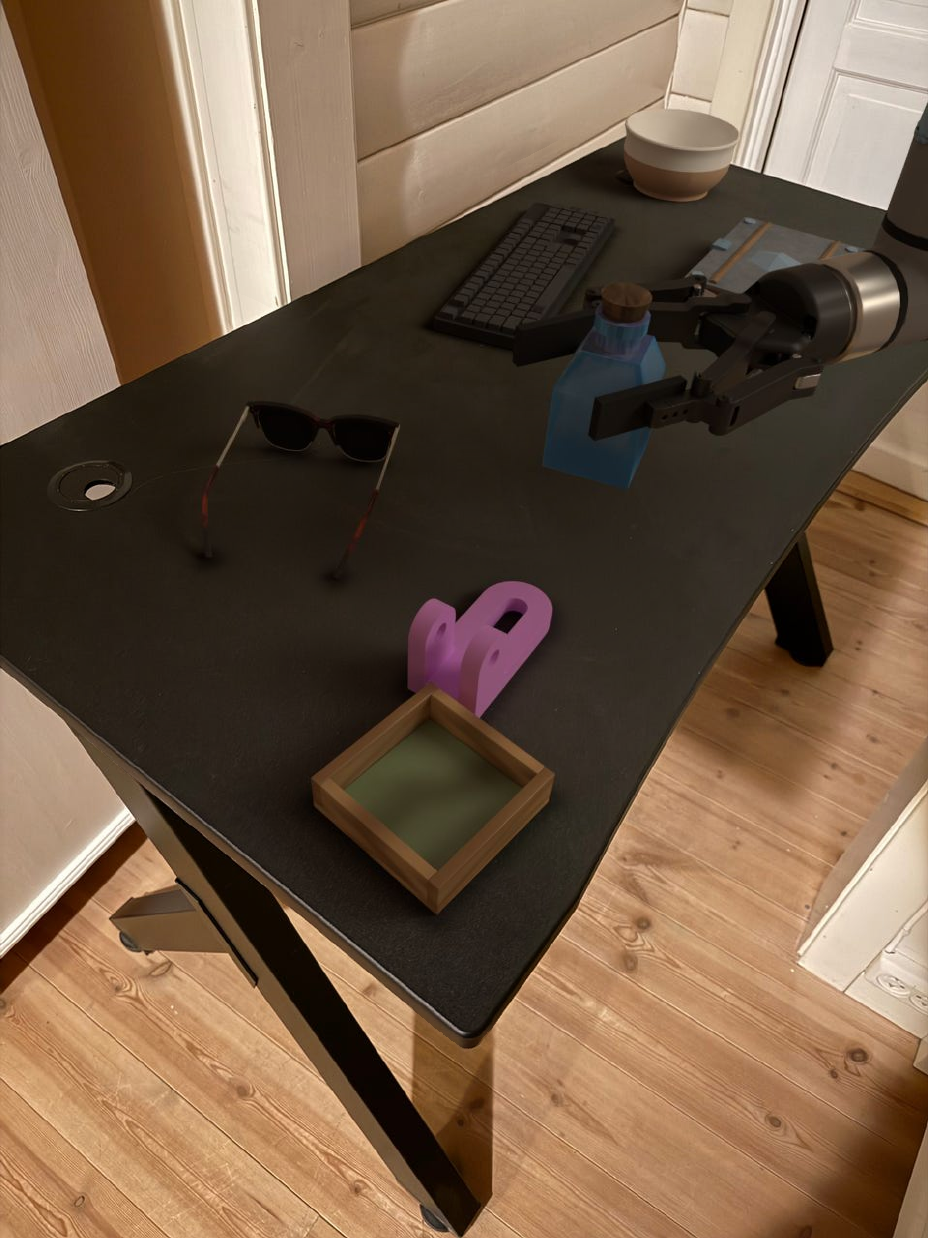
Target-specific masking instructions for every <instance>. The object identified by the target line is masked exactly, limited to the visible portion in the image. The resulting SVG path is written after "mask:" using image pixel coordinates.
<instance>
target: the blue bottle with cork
mask: <svg viewBox="0 0 928 1238" xmlns="http://www.w3.org/2000/svg"><path fill="white" fill-rule="evenodd" d="M635 284H636V283H629V282H614V283H609V284H607V285H604V286H605V287H604V288H603V289H602V303H601V304H600V305H599V306H597V309H596V314H595V320H594V326H593V328H592V329H591V330H590V332H589V333H588V334H587V336H586V337H585V338H584V340H583V341H582V342H581V344H580V345H579V347H578V348H577V350H576V352H575V353H574V354H572V357H571V359H570V360H569V362H568V363H567V365H566V366H565V368H564V370H563V371H562V373H561V375H560V376H559V378H558V379H557V381H556V384H555V385H554V386H553V388H552V394H551V395H552V396H551V401H550V408H549V414H548V422H547V428H546V429H547V430H546V437H545V444H544V450H543V458H542V465H541V467H544V468H547V469H552V470H555V471H558V472H562V473H566V474H570V475H574V476H577V477H579V478H580V477H581V478H584V479H589V480H592V481H595V482H598V483H603V484H606V485H609V486H610V485H611V486H614V487H617V488H621V489H623V490H624V489H625V490H629V488H630V485H631V484H632V481H633V478H634V476H635V473H636V471H637V469H638V468H639V465H640V462H641V460H642V457H643V455H644V453H645V451H646V448H647V445H648V443H649V440H650V436H651V433H652V429H650V428H649V427H644V428H640V429H637V430H633V431H630V432H626V433H623V434H619V435H616V436H612V437H609V438H605V439H602V440H598V441H594V440H592V439H591V438H590V437H589V436H588V432H589V426H590V421H591V415H592V410H593V404H594V399H595V397H599V396H602V395H606V394H610V393H614V392H618V391H621V390H625V389H629V388H633V387H637V386H640V385H644V384H648V383H652V382H656V381H659V380H663V379H665V373H666V370H667V364H666V361H665V359H664V357H663V354H662V352H661V349H660V347H659V345H658V342H656V339H655V337H654V336H651V335H646V333H647V331H648V326H649V322H650V316H651V315H650V313H649V311H648V307H649V305H650V303H651V301H652V295H651V293H650V292H649V291H648V290H647V289H645V288H643V287H641V286H638V285H635Z"/></svg>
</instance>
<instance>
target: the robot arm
mask: <svg viewBox="0 0 928 1238" xmlns="http://www.w3.org/2000/svg"><path fill="white" fill-rule="evenodd" d="M910 142H911V143H910V145H909V148H908V150H907V154H906V157H905V159H904V162H903V166H902V168H901V171H900V174H899V176H898V178H897V182H896V184H895V187H894V190H893V193H892V196H891V198H890V201H889V204H888V207H887V209H886V211H885V214H884V216H883V219H882V221H881V223H880V226H879V228H878V231H877V234H876V236H875V239H874V241H873V243H872V247H870V248H866V249H865V250H863V251H859V252H855V253H850V254H845V255H840V256H835V257H831V258H826V259H821V260H816V261H812V262H810V263H806V264H801V265H796V266H792V267H787V268H783V269H778V270H774V271H771V272H768V273H766V274H765V275H763V276H762V277H760V278H759V279H758V280H757V281H756V282H755V283H754V284H753V285H752V286H751V287H749V288H748V289H747V290H746V291H745V292H743V293H722V294H719V295H715V294H714V293H712V292H710V291H708V290H707V289H705V287H706V283H707V277H705V276H703V275H698V274H696V275H691V276H688V277H685V276H684V277H685V278H684V277H682V278H679V279H673V280H671V279H670V280H660V281H650V282H649V281H647V282H638V283H637V282H636V283H634V284H635V285H638V286H641V287H643V288H645V289H647V290H648V291H649V292H650V293H651V295H652V301H651V303H650V305H649V307H648V311H649V313H650V315H651V316H650V322H649V326H648V331H647V333H646V335H651V336H654V337H655V339H656V342H657V343H678V344H681V347H682V348H683V349H684V350H698V351H699V350H701V351H703V350H704V351H709V352H711V353H713V354H714V355H715V356H716V357H717V359H715V360H714V361H713V362H712V363H711V364H710V365H709V366H708V367H707V368H705V369H704V370H703V372H699V373H698V371H696V370H695V371H694V373H693V377H692V380H691V385H690V388H687V386H688V380H687V379H686V377H684V376H683V375H682V374H679V375H674V376H671V377H667V378H663V380H659V381H656V382H652V383H648V384H644V385H640V386H637V387H633V388H629V389H625V390H621V391H618V392H614V393H610V394H606V395H602V396H599V397H595V399H594V404H593V410H592V415H591V421H590V426H589V432H588V436H589V437H590V438H591V439H592V440H594V441H598V440H602V439H605V438H609V437H612V436H616V435H619V434H623V433H626V432H630V431H633V430H637V429H640V428H644V427H649V428H650V429H651V430H652V429H661V428H663V427H664V428H665V427H667V426H671V425H675V424H678V423H682V422H687V423H689V424H699V423H700V422H702V423H705V424H706V425H708V427H707V430H708V432H709V433H710V434H711V435H714V436H717V437H724V436H726V435H728V434H730V433H732V432H733V431H735V430H737V429H740V428H741V427H743V426H745V425H747V424H749V423H750V422H752V421H754V420H756V419H758V418H759V417H761V416H763V415H764V414H767V413H768V412H770V411H772V410H774V409H776V408H777V407H780V406H782V405H783V404H785V403H787V402H789V401H792V400H799V399H804V398H809V397H812V396H814V395H815V392H816V389H817V387H818V384H819V381H820V379H821V376H822V373H823V372H824V369H825V367H828V366H832V365H835V364H839V363H843V362H846V361H849V360H854V359H856V358H857V359H858V358H860V357H864V356H868V355H872V354H875V353H879V352H883V351H886V350H891V349H894V348H899V347H903V346H907V345H911V344H914V343H919V342H928V101H927V102H926V105H925V107H924V110H923V112H922V115H921V117H920V118H919V120H918V121H917V122H916V126H915V129H914V131H913V136H912V139H911V141H910ZM605 286H606V285H602V286H601V285H600V286H590V287H586V288H585V290H584V296H583V303H582V304H583V305H582V309H577V310H574V311H569V312H564V313H560V314H557V315H555V316H553V317H551V318H547V319H543V320H538V321H534V322H529V323H525V324H520V325H516V330H515V340H514V350H513V351H512V361H511V362H512V363H513V364H514V365H515V366H516V368H520V367H525V366H528V365H533V364H536V363H540V362H541V363H542V362H545V361H549V360H553V359H558V358H562V357H565V356H570V355H574V353H575V352H576V350H577V348H578V347H579V345H580V344H581V342H582V341H583V340H584V338H585V337H586V336H587V334H588V333H589V332H590V330H591V329H592V328H593V326H594V320H595V314H596V309H597V306H599V305H600V304H601V303H602V289H603V288H604V287H605ZM702 312H705V313H704V314H703V316H700V314H701V313H702ZM700 317H701V320H700V323H699V329H698V331H697V334H696V330H697V328H698V327H697V325H698V322H699V319H700ZM759 370H761V372H759ZM758 372H759V373H758ZM756 373H757V374H756ZM755 374H756V375H755ZM752 375H753V376H752Z"/></svg>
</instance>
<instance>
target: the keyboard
mask: <svg viewBox="0 0 928 1238" xmlns="http://www.w3.org/2000/svg"><path fill="white" fill-rule="evenodd" d="M615 222H616V220H615V219H614V218H612V217H611V214H609V213H604V212H600V211H595V210H588V209H585V208H581V207H576V206H571V205H564V204H562V203H558V202H554V203H553V204H552V205H550V204H547V203H540V202H534V203H533V204H532V205H530V206H529V208H528V209H527V210H526V211H525V213H524V214H523V215H522V216H521V217H520V218H519V220H517V222H516V223H515V224H514V225H513V226H512V227H511V228H510V230H509V231H508V232H507V233H506V234H505V235H504V237H503V238H502V239H501V240H500V241H499V242H498V243H497V244H496V246H495V247H494V248H493V249H492V250H491V251H490V252H489V253H488V255H487V256H486V257H485V258H484V259H483V260H482V261H481V262H480V264H479V265H478V266H477V267H476V268H475V270H474V271H473V272H472V273H471V274H470V276H468V277H467V279H465V281H464V282H463V283H462V284H461V285H460V287H458V289H457V290H456V292H454V293H453V295H452V296H451V297H450V298H449V299H448V300H447V302H446V303H445V304H444V305H443V306H442V307H441V308H440V309H439V310H438V312H437V313H436V314H435V315H434V331H437V332H441V333H444V334H448V335H452V336H457V337H461V338H464V339H469V340H472V341H476V342H481V343H485V344H488V345H493V346H495V347H501V348H505V349H509V350H514V340H515V330H516V325H520V324H525V323H529V322H534V321H538V320H543V319H547V318H551V317H553V316H555V315H558V314H559V312H560V311H561V309H562V308H563V306H564V305H565V303H566V302H567V300H569V298H570V296H571V294H572V293H573V292H574V290H575V289H576V287H577V286H578V284H579V282H580V281H581V280H582V278H583V276H584V275H585V273H586V272H587V271H588V269H589V268H590V266H591V265H592V263H593V262H594V261H595V259H596V257H597V256H598V254H599V253H600V252H601V250H602V249H603V247H604V246H605V245H606V242H607V241H608V239H609V238H610V237H611V236H612V233H613V232H614V228H615Z"/></svg>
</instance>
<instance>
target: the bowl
mask: <svg viewBox="0 0 928 1238" xmlns="http://www.w3.org/2000/svg"><path fill="white" fill-rule="evenodd" d="M624 126H625V127H624V128H625V132H626V133H625V134H626V135H625V140H624V143H623V160H624V163H625V167H626V170H627V172H628V173H629V175H630V177H631V178H632V180H633V186H634V188H635V189H636V190H637V191H639V192H640V193H642V194H643V195H646V196H648V197H651V198H653V199H657V200H662V201H667V202H668V201H669V202H679V203H682V202H693V201H698V200H701V199H703V198H705V197H706V196H707V194H708V193H709V190H711V189H712V188H714V187H715V186H716V185H718V184H719V183H720V182H721V180H723V178H724V177H725V176H726V174H727V173H728V171H729V168H730V165H731V163H732V161H733V158H734V153H735V148H736V146H737V145H738V143H739V142H740V140H741V133H740V131H739V129H738V128H737V127H736V126H735V125H733V124H732V123H730V122H729V121H727V120H725V119H722V118H720V117H717V116H715V115H712V114H707V113H704V112H699V111H693V110H689V109H680V108H654V109H652V108H651V109H645V110H640V111H637V112H635V113H632V114H630V115H629V116H628V117H627V118H626V120H625V122H624Z"/></svg>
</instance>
